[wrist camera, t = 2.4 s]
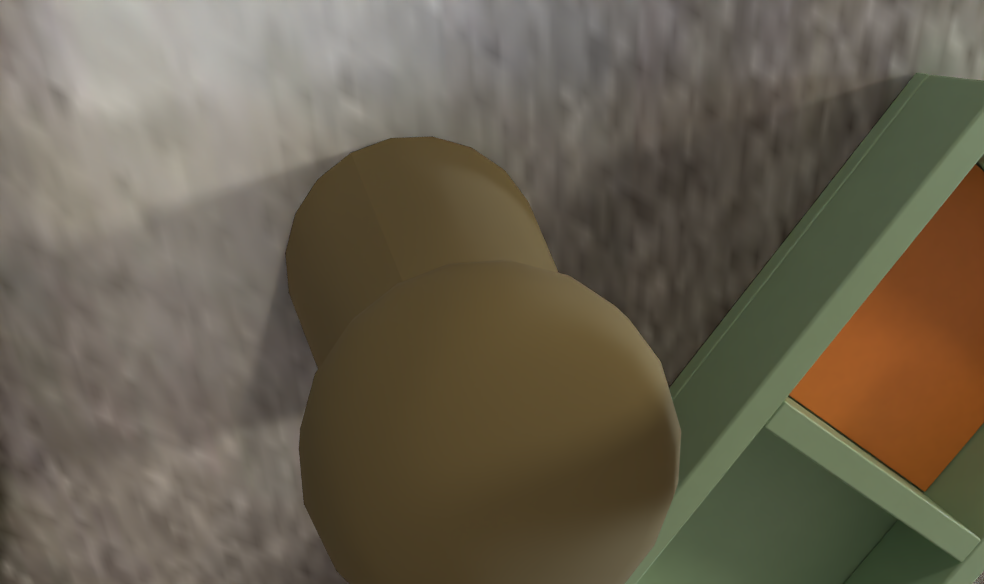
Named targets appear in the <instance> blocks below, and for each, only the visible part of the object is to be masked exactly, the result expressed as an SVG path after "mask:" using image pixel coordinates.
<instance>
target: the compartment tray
mask: <svg viewBox="0 0 984 584" xmlns="http://www.w3.org/2000/svg"><path fill="white" fill-rule="evenodd" d="M669 390H670V394H671V397H672V401H673V404H674V408H675V411H676V414H677V418H678V421H679V425H680V428H681V446H680V462H679V479H678V485H677V488H676V491H675V494H674V497H673V500H672V502H671V505H670V507H669V510H668V512H667V515H666V518H665V520H664V523H663V525H662V528H661V530H660V533H659V535H658V538H657V541H656V543H655V545H654V547H653V548H652V549H651V550H650V552H649V553H648V554H647V556H646V557H645V558H644V560H643V561H642V562H641V563H640V565H639V566H638V567H637V569H636V570H635V571H634V572H633V574H632V575H631V576H630V578H629V579H628V580H627V581H626V583H625V584H972V583H973V582H974V581H975V580H976V579H977V578H978V576H979V575H980V574H981V573H982V572H983V571H984V81H981V80H972V79H963V78H954V77H946V76H937V75H929V74H923V73H916V74H915V75H914V76H913V77H912V79H911V80H910V81H909V83H908V84H907V85H906V86H905V88H904V89H903V90H902V92H901V93H900V94H899V95H898V97H897V98H896V99H895V100H894V102H893V103H892V104H891V106H890V107H889V108H888V109H887V111H886V112H885V113H884V115H883V116H882V117H881V118H880V120H879V121H878V122H877V123H876V125H875V126H874V127H873V129H872V130H871V131H870V132H869V134H868V135H867V136H866V137H865V139H864V140H863V141H862V143H861V144H860V145H859V146H858V148H857V149H856V150H855V152H854V153H853V154H852V155H851V157H850V158H849V159H848V160H847V162H846V163H845V164H844V166H843V167H842V168H841V169H840V171H839V172H838V173H837V175H836V176H835V177H834V178H833V180H832V181H831V182H830V183H829V185H828V186H827V187H826V189H825V190H824V191H823V192H822V194H821V195H820V196H819V198H818V199H817V200H816V201H815V203H814V204H813V205H812V206H811V208H810V209H809V210H808V212H807V213H806V214H805V215H804V217H803V218H802V219H801V220H800V222H799V223H798V224H797V226H796V227H795V228H794V229H793V231H792V232H791V233H790V235H789V236H788V237H787V238H786V240H785V241H784V242H783V243H782V245H781V246H780V247H779V249H778V250H777V251H776V252H775V254H774V255H773V256H772V258H771V259H770V260H769V261H768V263H767V264H766V265H765V266H764V268H763V269H762V270H761V272H760V273H759V274H758V275H757V277H756V278H755V279H754V281H753V282H752V283H751V284H750V286H749V287H748V288H747V289H746V291H745V292H744V293H743V295H742V296H741V297H740V298H739V300H738V301H737V302H736V303H735V305H734V306H733V307H732V309H731V310H730V311H729V312H728V314H727V315H726V316H725V318H724V319H723V320H722V321H721V323H720V324H719V325H718V326H717V328H716V329H715V330H714V332H713V333H712V334H711V335H710V337H709V338H708V339H707V341H706V342H705V343H704V344H703V346H702V347H701V348H700V349H699V351H698V352H697V353H696V355H695V356H694V357H693V358H692V360H691V361H690V362H689V363H688V365H687V366H686V367H685V369H684V370H683V371H682V372H681V374H680V375H679V376H678V378H677V379H676V380H675V381H674V383H673V384H672V385H671V386H670V388H669Z"/></svg>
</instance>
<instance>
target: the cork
mask: <svg viewBox="0 0 984 584" xmlns="http://www.w3.org/2000/svg"><path fill="white" fill-rule="evenodd" d="M285 255H286V266H287V278H288V289H289V294H290V297H291V300H292V302H293V305H294V307H295V310H296V313H297V315H298V318H299V320H300V323H301V326H302V328H303V331H304V334H305V336H306V339H307V341H308V344H309V347H310V349H311V352H312V354H313V357H314V360H315V362H316V365H317V367H318V370H317V372H316V373H315V376H314V379H313V383H312V387H311V390H310V394H309V398H308V401H307V405H306V409H305V413H304V416H303V420H302V424H301V427H300V440H299V455H300V466H301V478H302V489H303V500H304V505H305V507H306V510H307V512H308V514H309V516H310V518H311V520H312V522H313V524H314V526H315V528H316V530H317V532H318V534H319V536H320V538H321V540H322V542H323V544H324V547H325V549H326V551H327V553H328V555H329V557H330V559H331V561H332V563H333V565H334V567H335V569H336V571H337V572H338V573H339V574H340V575H341V576H342V577H343V578H344V579H345V580H346V581H348V582H349V583H350V584H625V583H626V581H627V580H628V579H629V578H630V576H631V575H632V574H633V572H634V571H635V570H636V569H637V567H638V566H639V565H640V563H641V562H642V561H643V560H644V558H645V557H646V556H647V554H648V553H649V552H650V550H651V549H652V548H653V547H654V545H655V543H656V541H657V538H658V535H659V533H660V530H661V528H662V525H663V523H664V520H665V518H666V515H667V512H668V510H669V507H670V505H671V502H672V500H673V497H674V494H675V491H676V488H677V485H678V479H679V462H680V446H681V428H680V425H679V421H678V418H677V414H676V411H675V408H674V404H673V401H672V397H671V394H670V390H669V387H668V383H667V380H666V377H665V374H664V371H663V368H662V365H661V361H660V360H659V359H658V357H657V356H656V355H655V353H654V352H653V351H652V349H651V348H650V347H649V345H648V344H647V343H646V341H645V340H644V339H643V337H642V336H641V334H640V333H639V332H638V330H637V329H636V328H635V326H634V325H633V324H632V322H631V321H630V320H629V318H628V317H626V316H625V315H624V314H623V313H622V312H621V311H620V310H619V309H618V308H617V307H616V306H615V305H613V304H612V303H610V302H609V301H607V300H606V299H604V298H603V297H601V296H599V295H598V294H596V293H595V292H593V291H592V290H590V289H589V288H587V287H586V286H584V285H583V284H581V283H580V282H578V281H577V280H575V279H574V278H572V277H571V276H569V275H565V274H561V273H558V270H557V268H556V266H555V263H554V261H553V259H552V256H551V254H550V252H549V249H548V247H547V245H546V242H545V240H544V238H543V235H542V233H541V231H540V228H539V226H538V224H537V221H536V219H535V217H534V214H533V212H532V210H531V207H530V205H529V203H528V201H527V199H526V198H525V197H524V195H523V194H522V193H521V191H520V190H519V189H518V187H517V186H516V185H515V183H514V182H513V181H512V179H511V178H510V177H509V175H508V174H507V173H506V171H505V170H503V169H502V168H501V167H499V166H498V165H496V164H495V163H493V162H492V161H490V160H489V159H487V158H486V157H484V156H483V155H482V154H480V153H479V152H477V151H476V150H474V149H473V148H471V147H467V146H464V145H460V144H457V143H453V142H450V141H446V140H443V139H439V138H436V137H408V138H390V139H387V140H384V141H382V142H379V143H376V144H374V145H371V146H368V147H365V148H363V149H360V150H357V151H355V152H352V153H350V154H349V155H348V156H346V157H345V158H344V159H343V160H341V161H340V162H339V163H338V164H336V165H335V166H334V167H333V168H331V169H330V170H329V171H327V172H326V173H325V174H324V175H322V176H321V177H320V178H319V179H318V180H317V181H316V183H315V184H314V186H313V187H312V189H311V190H310V192H309V194H308V195H307V197H306V198H305V200H304V201H303V203H302V204H301V206H300V207H299V209H298V210H297V212H296V214H295V217H294V221H293V225H292V229H291V233H290V237H289V241H288V245H287V249H286V253H285Z"/></svg>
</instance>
